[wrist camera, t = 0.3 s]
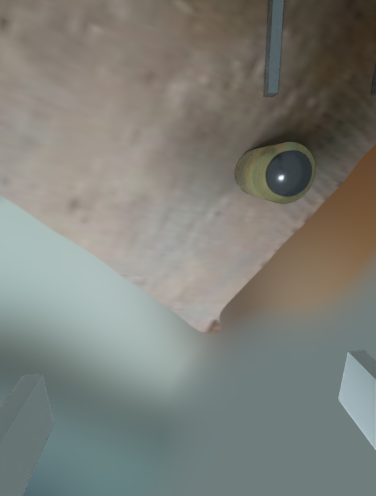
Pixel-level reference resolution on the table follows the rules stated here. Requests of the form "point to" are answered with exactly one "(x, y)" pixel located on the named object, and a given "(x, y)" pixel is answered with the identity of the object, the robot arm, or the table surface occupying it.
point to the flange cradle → (278, 49)
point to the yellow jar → (276, 172)
